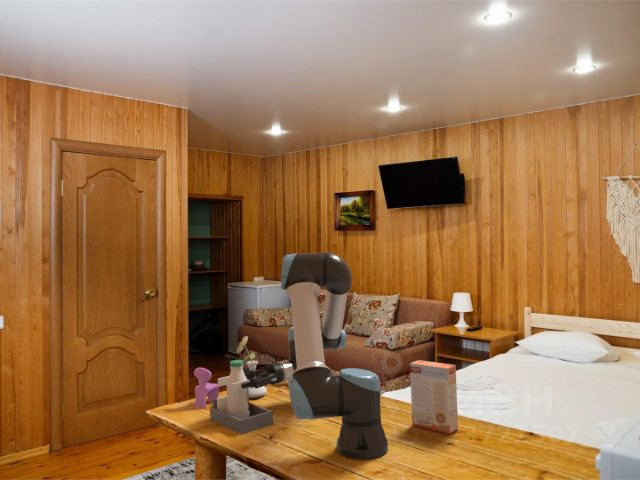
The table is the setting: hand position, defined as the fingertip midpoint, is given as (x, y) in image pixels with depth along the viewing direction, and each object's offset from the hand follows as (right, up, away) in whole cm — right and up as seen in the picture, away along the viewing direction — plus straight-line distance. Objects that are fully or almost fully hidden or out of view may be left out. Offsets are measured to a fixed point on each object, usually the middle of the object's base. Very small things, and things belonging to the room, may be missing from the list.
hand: (225, 385), depth 185 cm
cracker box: (+70, -11, -11) cm, 72 cm away
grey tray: (+5, -13, +1) cm, 14 cm away
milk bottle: (+4, -13, +3) cm, 14 cm away
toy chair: (-11, -14, +23) cm, 29 cm away
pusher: (+1, -12, +7) cm, 14 cm away
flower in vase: (+5, -13, +31) cm, 34 cm away
